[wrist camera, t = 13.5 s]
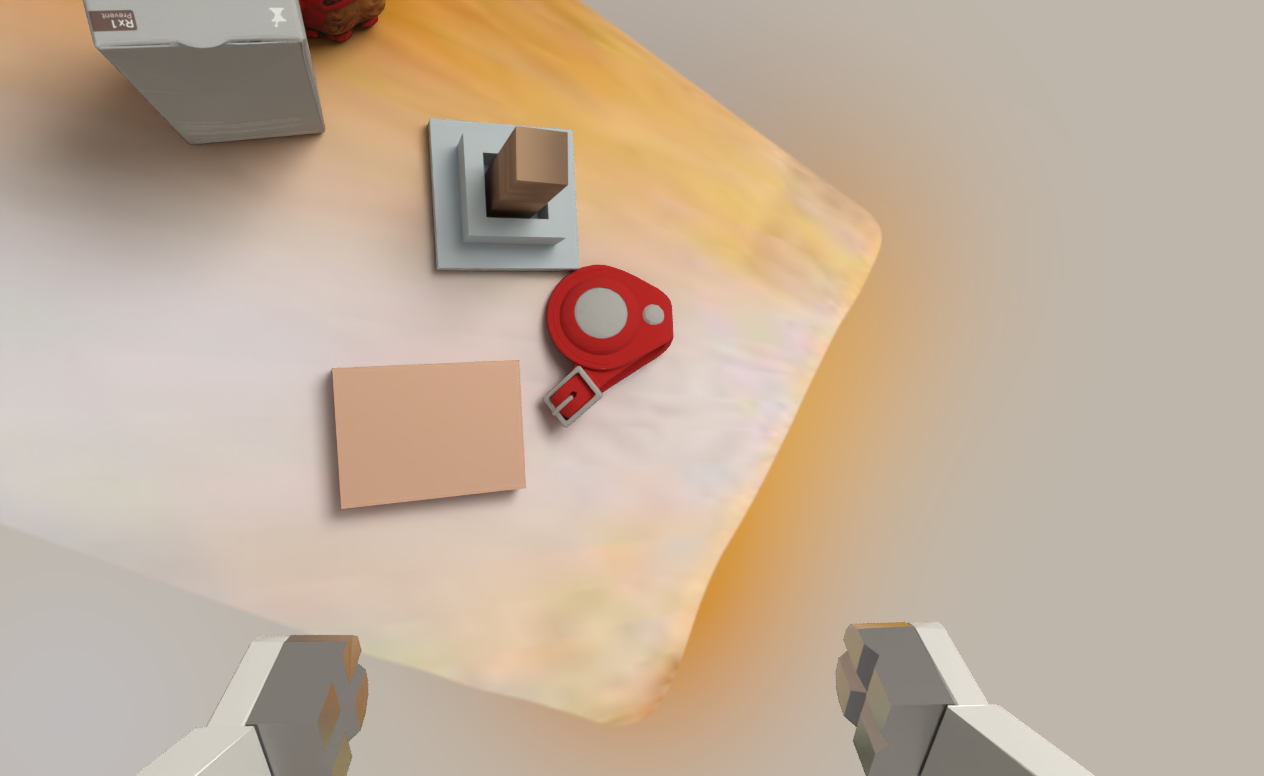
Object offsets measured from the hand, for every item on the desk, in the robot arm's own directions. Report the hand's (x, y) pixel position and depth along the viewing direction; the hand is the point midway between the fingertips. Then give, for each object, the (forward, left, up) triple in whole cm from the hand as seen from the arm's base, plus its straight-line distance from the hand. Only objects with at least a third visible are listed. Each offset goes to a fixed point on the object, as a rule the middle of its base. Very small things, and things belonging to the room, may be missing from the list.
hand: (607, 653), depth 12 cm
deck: (+1, +1, -39) cm, 39 cm away
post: (+7, +17, -38) cm, 42 cm away
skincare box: (-9, +23, -39) cm, 46 cm away
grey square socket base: (+7, +17, -39) cm, 43 cm away
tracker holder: (+13, +6, -40) cm, 42 cm away
